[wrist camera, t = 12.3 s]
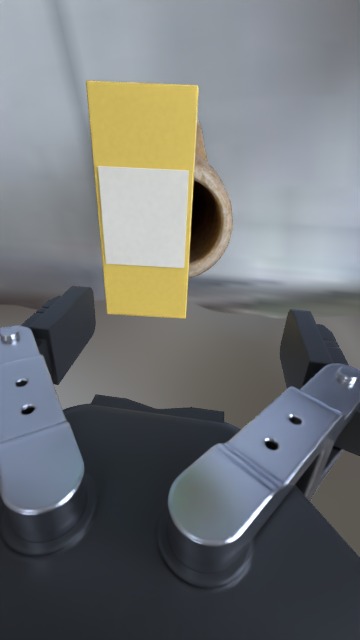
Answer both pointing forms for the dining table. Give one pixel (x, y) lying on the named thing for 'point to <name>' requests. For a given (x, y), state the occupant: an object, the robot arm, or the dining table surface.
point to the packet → (144, 192)
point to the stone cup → (207, 213)
